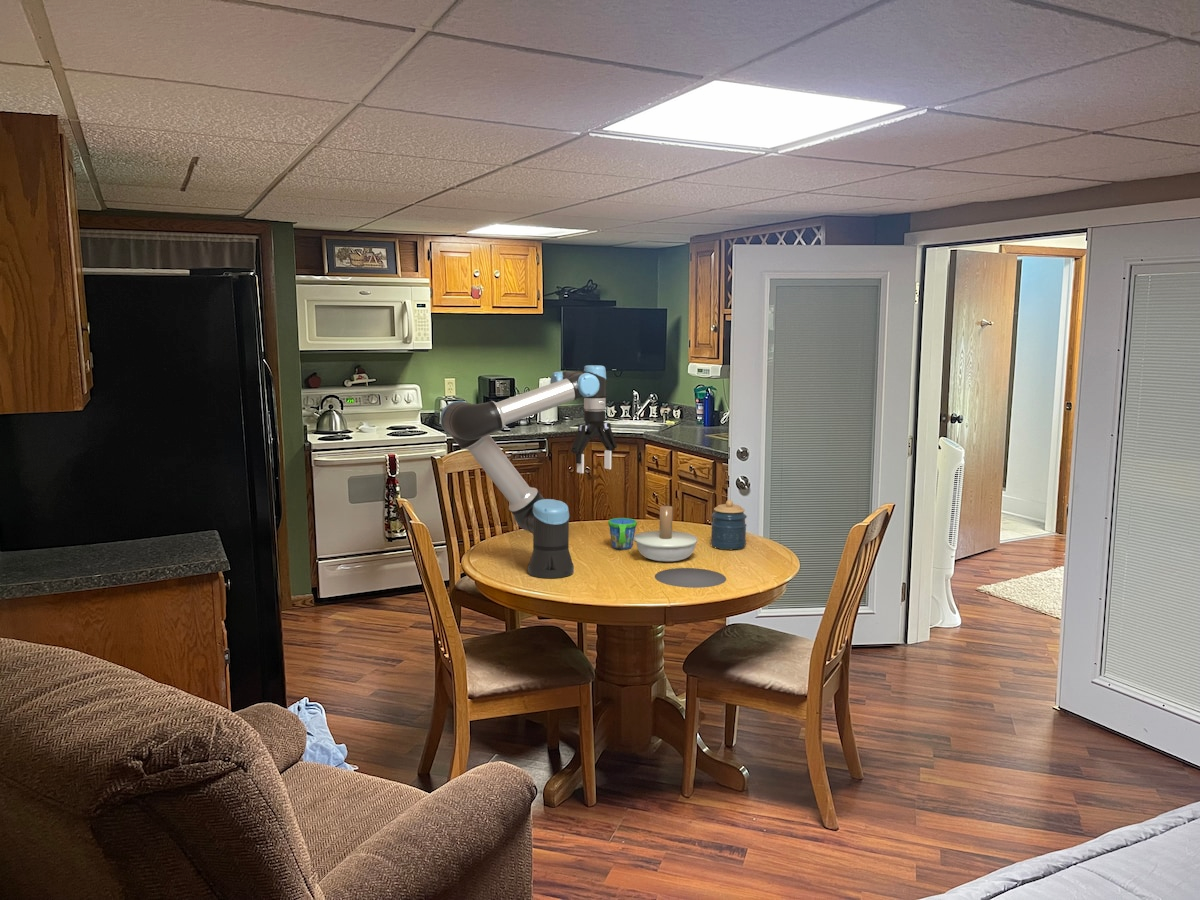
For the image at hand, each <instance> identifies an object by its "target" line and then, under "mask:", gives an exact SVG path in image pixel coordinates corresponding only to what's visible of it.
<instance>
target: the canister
mask: <svg viewBox="0 0 1200 900" xmlns="http://www.w3.org/2000/svg"><path fill="white" fill-rule="evenodd" d="M713 510H714V512H713V513H711V517H712V522H711V523H710V525H711V539H710V544H711V545H712V546H713V547H712V546H711V547H712V548H714V547H716V548H715V549H717V548H720V549H719V550H722V549H740V550H742V549H741V548H743V549H745V548H746V544H747V543H746V542H747V541H746V540H747V539H746V537H747V523H746V519H747V517H748V515H746V514H745V513H744V512H745V511H746V510H745V508H743V507H742V506H741V505H739V504H734V502H733V501H732V500H731V499H727V500H726V502H725V503H724V504H722V503H721V504H718V505H717V506H715V507H714V508H713ZM744 547H745V548H744Z"/></svg>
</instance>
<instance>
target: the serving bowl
mask: <svg viewBox="0 0 1200 900" xmlns="http://www.w3.org/2000/svg"><path fill="white" fill-rule="evenodd" d="M696 544H697V543H696ZM696 544H694V545H691V546H687V547H680V548H657V547H649V546H644V545H641V544H638V543H636V548H637V550H638V552H639V553H640V554H641V556H643V557H645V558H646V559H648V560H652V561H655V562H662V563H663V562H664V563H665V562H666V563H668V562H669V563H670V562H678V561H679V562H680V561H682V560H685V559H687V558H689V557H690V556H692V554H693V552H695V549H696Z"/></svg>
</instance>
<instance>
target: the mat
mask: <svg viewBox="0 0 1200 900" xmlns="http://www.w3.org/2000/svg"><path fill="white" fill-rule="evenodd" d="M654 578H655V580H656V581H657V582H659V583H661V584H665V585H666V586H668V585H669V586H673V587H679V588H680V587H681V588H693V589H696V588H698V589H699V588H709V587H715V586H719V585H722V584H724V583H726V581H727V577H726V575H724V574H723V573H720V572H718V571H714V570H710V569H704V568H697V567H695V568H693V567H675V568H669V569H664V570H661V571H658V572H656V574H654Z"/></svg>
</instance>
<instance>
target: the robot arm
mask: <svg viewBox="0 0 1200 900" xmlns="http://www.w3.org/2000/svg"><path fill="white" fill-rule="evenodd" d="M583 368H584V369H583V371H562V370H561V371H554V372H553V373H552V374H551V375H550V376H551V377H550V382H549V384H546V385H544V386H543V385H542V386H540V387H537V388H535V389H532V390H528V391H525V392H523V393H520V394H517V395H515V396H512V397H508V398H506V399H503V400H500V401H497V402H496V401H494V400H490V401H487V402H482V403H469V402H467V401H465V400H456V401H451V402H449V403H448V404H446V405H445V406H444V408H442V411H441V413H440V419H439V420H440V426H441V428H442V429H443V430H444V432H445V433H446V434H447V435H448V436H450V437H451V438H452V439H453V440H454V442H456V444H457V445H458V446H459V448H460V449H461V450H467V451H468V452H469V453H470V455H471V456H472V457H473V458H474V460H475V461H476V462H477V463H478V465H479V466H480V467H481V468H482V469H483V471H484V472H485V473H486V474H487V476H488V477H489V478H490V480H491V481H492V482H493V483H494V485H495V487H496V488H497V489H498V490H499V491H500V493H502V495H503V496H504V498H505V499H506V500H507V501H508V503H509V504H508V505H509V506H508V509H509V512H511V514H512V515H513V517H514V520H515V522H516V524H517V525H518V526H519V527H520V528H521V529H523V530H524V531H527V532H529V533H531V534H532V552H531V557H530V558H529V559H530V560H529V563H528V565H527V573H529V574H528V575H530V576H532V577H534V578H540V579H560V578H561V579H562V578H566V577H569V576H571V575H573V574H575V573H574V572H575V570H574V569H575V568H574V563H573V560H572V556H571V553H570V549H569V547H570V546H569V541H570V540H569V539H570V533H569V531H570V530H569V529H570V528H569V527H570V526H569V525H570V524H569V523H570V511H569V510H570V509H569V506H568V505H567V503H565V502H564V501H561V500H556V499H553V498H552V499H551V498H546V499H545V498H544V497H543V495H542V494H541V492H540V491H539V490H538V488H536V487H531V486H529V484H528V483H527V481H525V479H524V478H523V476H522V475H521V474H520V472H519V471H518V470H517V469H516V468H515V466H514V464H512V462H511V461H510V459H509V458H508V457H507V455H506V454H505V453H504V451H503V450H502V449H501V447H500V446H499V445H498V444H497V443H496V441H495V440H494V438H492V435H491V434H493V433H496V432H499V431H502V430H503V429H504V427H505V426H506V425H509V424H511V423H515V422H517V421H520V420H523V419H524V418H527V417H531V416H533V415H536V414H539V413H542V412H544V411H547V410H550V409H553V408H555V407H559V406H562V405H563V404H566V403H569V402H572V401H575V400H578V399H581V398H582V399H583V409H584V412H583V421H584V425H583V424H578V426H577V433H576V435H575V438H574V441H573V444H572V446H571V449H570V452H571V453H573V454H574V455H575V463H576V473H578V474H584V473H585V454H584V453H583V452H584V451H585V449H586V447H587V446H588V444H589V442H590V441H591V439H592V438H599V440H600V442H601V444H602V445H603V446H604V448H605V449H604V456H603V457H604V458H603V459H604V466H603V467H604V469H607V470H612V459H613V451H615V449H617V448H618V447H617V446H618V445H617V443H616V440H615V437H614V433H613V430H612V424H611V422H605V421H606V417H607V416H606V414H607V413H606V412H607V411H605V410H606V403H607V402H606V401H607V399H606V394H607V393H606V391H607V389H606V388H607V372H606V366H604V365H599V364H598V365H596V364H595V365H593V364H591V365H590V364H589V365H584V366H583Z"/></svg>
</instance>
